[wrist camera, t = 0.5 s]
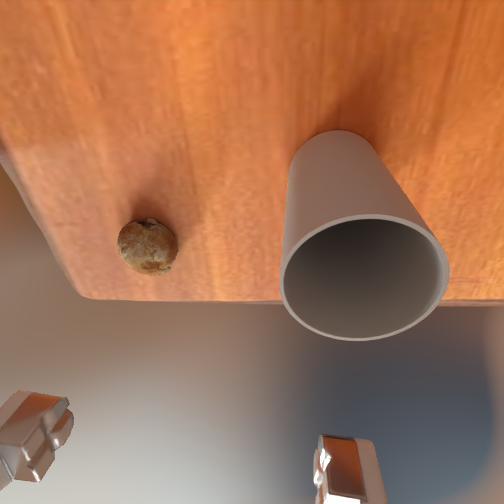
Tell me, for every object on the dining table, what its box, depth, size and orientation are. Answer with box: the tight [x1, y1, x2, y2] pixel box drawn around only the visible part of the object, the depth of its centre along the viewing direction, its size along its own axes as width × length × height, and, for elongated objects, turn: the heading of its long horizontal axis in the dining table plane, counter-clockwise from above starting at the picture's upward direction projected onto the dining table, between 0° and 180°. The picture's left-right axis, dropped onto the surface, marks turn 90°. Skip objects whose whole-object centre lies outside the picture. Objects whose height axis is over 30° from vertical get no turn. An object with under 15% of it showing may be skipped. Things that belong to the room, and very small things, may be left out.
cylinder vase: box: [279, 130, 449, 341], centre depth 34 cm, size 12×12×25 cm
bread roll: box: [117, 218, 178, 275], centre depth 54 cm, size 10×10×8 cm
